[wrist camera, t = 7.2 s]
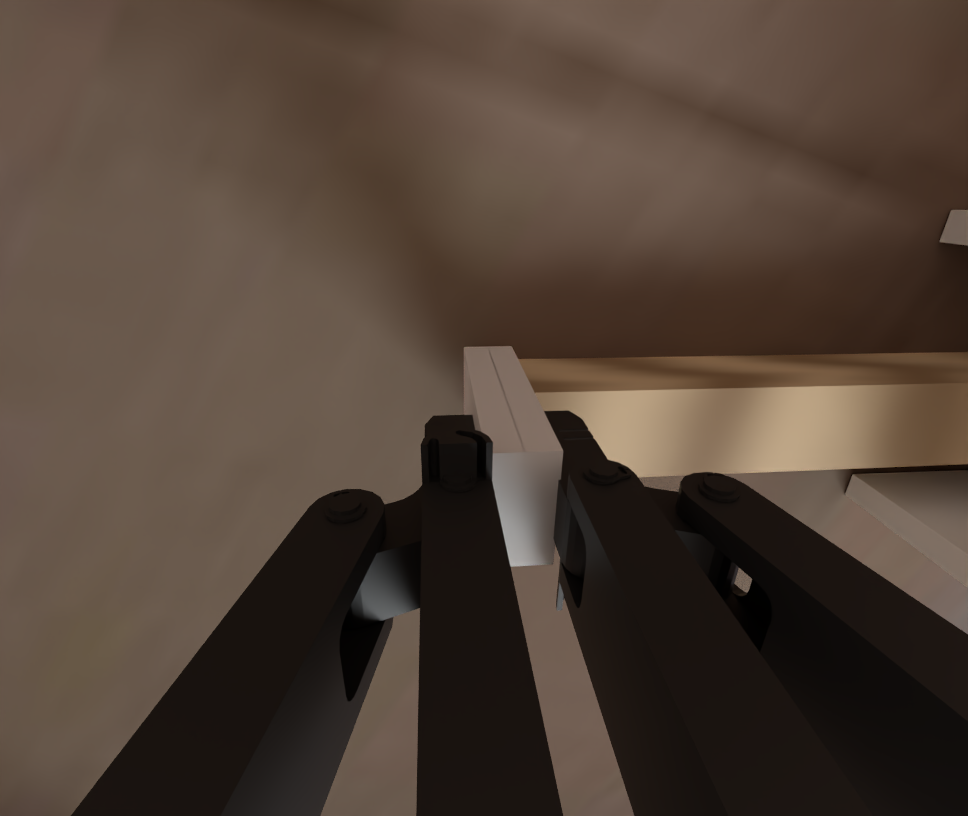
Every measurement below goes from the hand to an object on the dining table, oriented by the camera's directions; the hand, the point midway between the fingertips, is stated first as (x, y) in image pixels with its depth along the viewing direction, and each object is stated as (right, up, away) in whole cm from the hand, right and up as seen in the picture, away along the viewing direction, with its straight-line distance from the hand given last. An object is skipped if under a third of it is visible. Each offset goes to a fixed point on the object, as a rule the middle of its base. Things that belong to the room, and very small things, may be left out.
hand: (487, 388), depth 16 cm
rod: (+13, 0, +3) cm, 13 cm away
